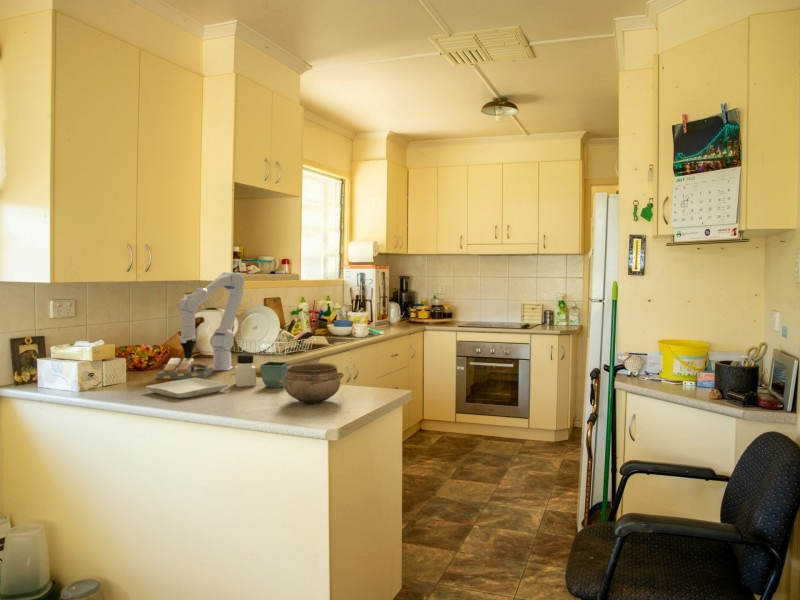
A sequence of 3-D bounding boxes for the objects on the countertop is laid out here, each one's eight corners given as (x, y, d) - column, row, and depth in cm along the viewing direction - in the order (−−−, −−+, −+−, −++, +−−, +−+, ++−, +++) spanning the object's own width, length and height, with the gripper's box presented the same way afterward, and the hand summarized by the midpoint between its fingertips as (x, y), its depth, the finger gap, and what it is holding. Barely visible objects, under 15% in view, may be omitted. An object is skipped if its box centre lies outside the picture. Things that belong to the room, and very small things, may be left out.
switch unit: (168, 373, 270) (168, 362, 269) (212, 373, 271) (212, 362, 270) (157, 378, 255) (157, 367, 255) (204, 378, 256) (204, 367, 256)
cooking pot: (327, 393, 227) (327, 360, 227) (358, 402, 213) (358, 366, 212) (265, 402, 211) (265, 366, 210) (295, 412, 197) (295, 374, 196)
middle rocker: (184, 360, 267) (183, 358, 267) (193, 360, 268) (193, 358, 267) (177, 371, 258) (177, 369, 258) (187, 371, 258) (187, 369, 258)
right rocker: (197, 368, 268) (197, 365, 268) (206, 367, 268) (207, 365, 268) (191, 364, 258) (191, 361, 259) (200, 364, 259) (201, 361, 259)
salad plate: (178, 402, 213) (178, 392, 213) (144, 394, 226) (144, 385, 226) (229, 392, 230) (229, 383, 230) (195, 386, 243) (195, 377, 242)
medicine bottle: (256, 385, 241) (256, 355, 241) (237, 387, 239) (237, 355, 238) (253, 382, 248) (253, 352, 248) (235, 383, 245) (234, 353, 245)
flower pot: (282, 389, 235) (281, 365, 235) (259, 388, 236) (259, 364, 236) (289, 385, 244) (289, 362, 243) (268, 384, 245) (268, 361, 245)
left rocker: (171, 360, 267) (170, 358, 267) (180, 360, 267) (180, 358, 267) (164, 372, 258) (163, 369, 257) (173, 372, 258) (173, 369, 258)
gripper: (183, 324, 273) (183, 355, 274) (173, 327, 258) (173, 360, 259) (199, 324, 273) (200, 355, 274) (190, 327, 259) (190, 360, 259)
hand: (188, 358), depth 267 cm, fingers closed
